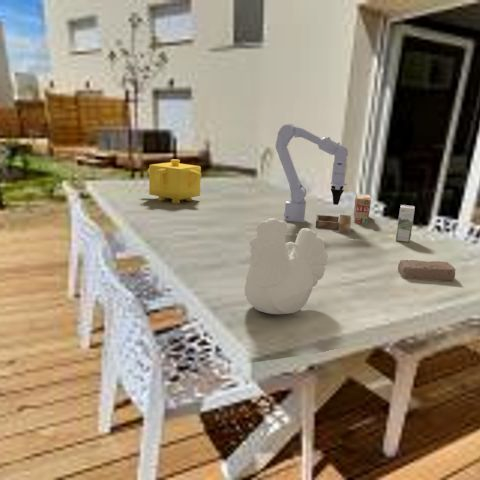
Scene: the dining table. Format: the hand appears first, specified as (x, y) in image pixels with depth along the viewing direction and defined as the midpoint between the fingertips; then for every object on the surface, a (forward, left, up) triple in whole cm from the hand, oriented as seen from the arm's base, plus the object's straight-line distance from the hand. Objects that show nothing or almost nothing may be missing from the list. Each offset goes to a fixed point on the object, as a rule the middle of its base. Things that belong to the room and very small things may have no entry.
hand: (335, 202), depth 231 cm
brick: (+29, -64, -10) cm, 71 cm away
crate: (-3, -5, -10) cm, 12 cm away
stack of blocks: (+13, +14, -10) cm, 22 cm away
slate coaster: (+4, -14, -10) cm, 18 cm away
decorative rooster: (-13, -104, -10) cm, 105 cm away
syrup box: (+28, -19, -10) cm, 35 cm away
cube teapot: (-83, +27, -10) cm, 88 cm away
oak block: (+4, -14, -9) cm, 17 cm away
